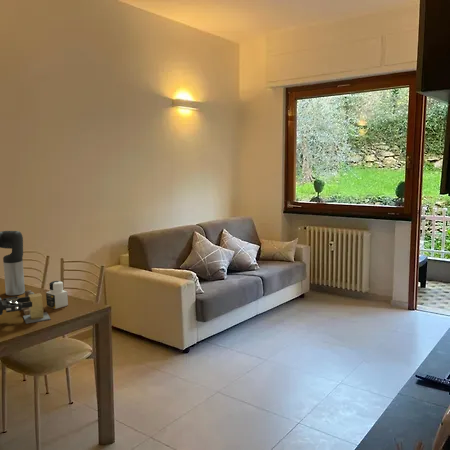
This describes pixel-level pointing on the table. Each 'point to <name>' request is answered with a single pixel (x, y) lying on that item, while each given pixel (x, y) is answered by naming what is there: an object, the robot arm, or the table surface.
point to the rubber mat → (28, 319)
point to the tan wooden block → (36, 306)
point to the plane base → (25, 310)
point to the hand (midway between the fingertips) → (30, 301)
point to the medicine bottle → (56, 295)
